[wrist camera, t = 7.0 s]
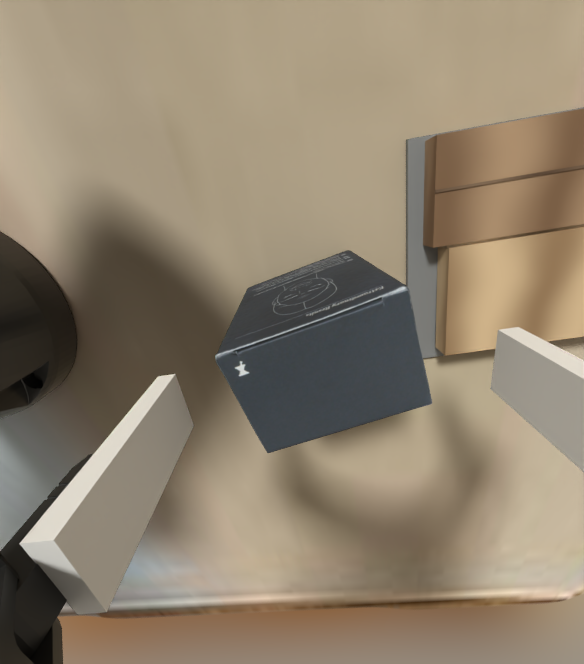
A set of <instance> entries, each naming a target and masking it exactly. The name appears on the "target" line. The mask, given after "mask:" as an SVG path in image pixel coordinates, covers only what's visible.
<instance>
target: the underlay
mask: <svg viewBox="0 0 584 664" xmlns="http://www.w3.org/2000/svg"><path fill="white" fill-rule="evenodd" d="M583 108H584V107H583ZM583 108H578V109H583ZM578 109H572V110H578ZM572 110H567V111H572ZM567 111H561V112H567ZM561 112H556V113H561ZM556 113H550V114H556ZM550 114H545V115H550ZM545 115H539V116H545ZM539 116H534V117H539ZM534 117H528V118H534ZM528 118H523V119H528ZM517 120H522V119H517ZM517 120H511V121H517ZM511 121H506V122H511ZM506 122H500V123H506ZM500 123H495V124H500ZM495 124H489V125H495ZM489 125H484V126H489ZM484 126H478V127H484ZM478 127H473V128H478ZM467 129H472V128H467ZM467 129H462V130H467ZM456 131H461V130H456ZM456 131H450V132H456ZM450 132H445V133H450ZM445 133H439V134H445ZM439 134H434V135H428V136H423V137H417V138H412V139H407V140H406V286H407V287H408V288H409V291H410V297H411V302H412V307H413V312H414V317H415V323H416V328H417V333H418V338H419V343H420V348H421V352H422V357H423V358H429V357H436V356H443V355H444V354H443V353H442V352H440V351H439V350H438V349H437V348H436V347H435V346H436V304H437V262H438V247H435V248H432V247H428V246H424V245H423V215H424V167H425V141H426V140H428V139H430V138H432V137H434V136H436V135H439Z"/></svg>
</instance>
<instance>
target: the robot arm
mask: <svg viewBox="0 0 584 664" xmlns="http://www.w3.org/2000/svg"><path fill="white" fill-rule="evenodd" d="M76 348H77V337H76V330H75V325H74V321H73V317H72V314H71V312H70V309H69V307H68V304H67V302H66V300H65V298H64V296H63V295H62V293H61V291H60V290H59V288H58V286H57V285H56V283H55V282H54V281H53V279H52V278H51V277H50V275H49V274H48V273H47V272H46V270H45V269H44V268H43V267H42V266H41V265H40V264H39V263H38V262H37V261H36V260H35V259H34V258H33V257H32V256H31V255H30V254H29V253H28V252H27V251H26V250H25V249H23V248H22V247H21V246H20V245H19V244H17V243H16V242H15V241H13V240H12V239H11V238H9V237H8V236H6V235H5V234H3V233H2V232H0V419H1V418H4V417H7V416H10V415H12V414H15V413H17V412H20V411H22V410H24V409H26V408H28V407H29V406H31V405H33V404H35V403H36V402H38V401H39V400H40V399H42V398H43V397H44V396H46V395H47V394H48V393H49V392H51V391H52V390H53V389H55V388H56V387H57V386H58V385H60V384H61V383H62V382H63V381H64V379H65V378H66V377H67V375H68V374H69V372H70V370H71V368H72V366H73V363H74V360H75V356H76ZM490 389H491V390H492V391H493V392H495V393H496V394H497V395H498V396H499V397H500V398H501V399H502V400H504V401H505V402H506V403H507V404H508V405H509V406H510V407H511V408H512V409H514V410H515V411H516V412H517V413H518V414H519V415H520V416H521V417H523V418H524V419H525V420H526V421H527V422H528V423H529V424H530V425H531V426H533V427H534V428H535V429H536V430H537V431H538V432H539V433H540V434H542V435H543V436H544V437H545V438H546V439H547V440H548V441H549V442H550V443H552V444H553V445H554V446H555V447H556V448H557V449H558V450H559V451H561V452H562V453H563V454H564V455H565V456H566V457H567V458H568V459H569V460H571V461H572V462H573V463H574V464H575V465H576V466H577V467H578V468H579V469H581V470H582V471H583V472H584V360H582V359H580V358H578V357H576V356H574V355H572V354H570V353H568V352H566V351H564V350H563V349H561V348H559V347H557V346H555V345H553V344H551V343H549V342H547V341H545V340H543V339H541V338H539V337H537V336H535V335H533V334H531V333H529V332H527V331H525V330H523V329H521V328H519V327H515V328H507V329H500V330H498V333H497V341H496V349H495V357H494V365H493V373H492V381H491V388H490ZM193 427H194V424H193V421H192V418H191V416H190V413H189V410H188V407H187V405H186V402H185V399H184V396H183V393H182V391H181V388H180V385H179V382H178V380H177V377H176V374H172V375H164V376H158V377H157V378H156V379H155V381H154V382H153V383H152V384H151V385H150V387H149V388H148V389H147V390H146V391H145V393H144V394H143V395H142V396H141V398H140V399H139V400H138V401H137V402H136V404H135V405H134V406H133V407H132V408H131V410H130V411H129V412H128V413H127V414H126V416H125V417H124V418H123V419H122V420H121V422H120V423H119V424H118V425H117V426H116V428H115V429H114V430H113V431H112V432H111V434H110V435H109V436H108V437H107V439H106V440H105V441H104V442H103V443H102V445H101V446H100V447H99V448H98V449H97V451H96V452H95V453H94V454H90V455H88V456H87V457H86V458H85V459H83V460H82V461H81V462H80V463H78V464H77V465H76V466H75V467H73V468H72V469H71V470H70V472H69V473H68V474H67V475H66V476H65V477H64V478H63V480H62V481H61V482H60V483H59V486H58V487H56V488H55V489H54V490H53V491H52V492H51V494H50V495H49V496H48V499H47V500H44V502H43V503H42V504H41V505H40V506H39V507H38V509H37V510H36V511H35V512H34V513H33V514H32V515H31V517H30V518H29V519H28V520H27V521H26V522H25V524H24V525H23V526H22V527H21V528H20V529H19V530H18V532H17V533H16V534H15V535H14V536H13V537H12V539H11V540H10V541H9V542H8V543H7V544H6V545H5V547H4V548H3V549H2V550H1V551H0V664H63V650H62V628H61V624H60V621H59V620H58V618H57V616H58V615H59V613H60V611H61V609H62V608H63V606H64V604H65V603H66V602H67V603H68V604H69V605H70V606H71V608H72V609H73V610H74V611H75V613H76V614H77V615H80V614H92V613H104V612H107V611H108V609H109V606H110V604H111V602H112V600H113V598H114V596H115V594H116V591H117V589H118V587H119V585H120V583H121V581H122V579H123V576H124V574H125V572H126V570H127V568H128V566H129V564H130V562H131V559H132V557H133V555H134V553H135V551H136V549H137V547H138V544H139V542H140V540H141V538H142V536H143V534H144V532H145V529H146V527H147V525H148V523H149V521H150V519H151V517H152V515H153V512H154V510H155V508H156V506H157V504H158V502H159V500H160V497H161V495H162V493H163V491H164V489H165V487H166V485H167V482H168V480H169V478H170V476H171V474H172V472H173V470H174V468H175V465H176V463H177V461H178V459H179V457H180V455H181V453H182V450H183V448H184V446H185V444H186V442H187V440H188V438H189V435H190V433H191V431H192V429H193Z"/></svg>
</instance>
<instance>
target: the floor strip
mask: <svg viewBox="0 0 584 664" xmlns="http://www.w3.org/2000/svg"><path fill="white" fill-rule="evenodd" d="M579 224H584V108H583V109H578V110H572V111H567V112H561V113H556V114H550V115H545V116H539V117H534V118H528V119H522V120H517V121H511V122H506V123H500V124H495V125H489V126H484V127H478V128H472V129H467V130H461V131H456V132H450V133H445V134H439V135H436V136H434V137H432V138H430V139H428V140H426V141H425V167H424V215H423V245H424V246H428V247H432V248H435V247H441V246H447V245H454V244H460V243H466V242H473V241H479V240H485V239H491V238H498V237H504V236H510V235H517V234H523V233H529V232H535V231H542V230H548V229H554V228H561V227H567V226H573V225H579Z"/></svg>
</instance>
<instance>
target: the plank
mask: <svg viewBox="0 0 584 664" xmlns="http://www.w3.org/2000/svg"><path fill="white" fill-rule="evenodd" d="M515 327H519V328H521V329H523V330H525V331H527V332H529V333H531V334H533V335H535V336H537V337H539V338H541V339H543V340H545V341H554V340H562V339H569V338H576V337H583V336H584V224H579V225H573V226H567V227H561V228H554V229H548V230H542V231H535V232H529V233H523V234H517V235H510V236H504V237H498V238H491V239H485V240H479V241H473V242H466V243H460V244H454V245H447V246H441V247H438V262H437V304H436V346H435V347H436V348H437V349H438V350H439V351H440V352H442V353H443V354H444V355H445V356H446V355H453V354H461V353H468V352H475V351H482V350H490V349H496V341H497V333H498V330H500V329H507V328H515Z"/></svg>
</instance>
